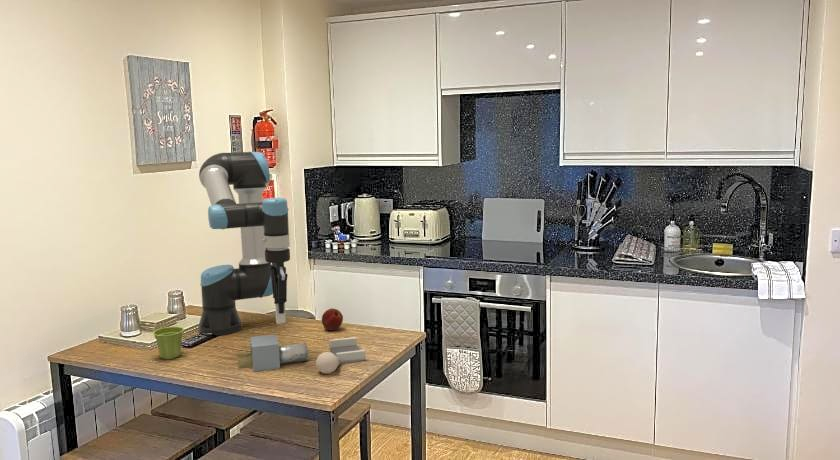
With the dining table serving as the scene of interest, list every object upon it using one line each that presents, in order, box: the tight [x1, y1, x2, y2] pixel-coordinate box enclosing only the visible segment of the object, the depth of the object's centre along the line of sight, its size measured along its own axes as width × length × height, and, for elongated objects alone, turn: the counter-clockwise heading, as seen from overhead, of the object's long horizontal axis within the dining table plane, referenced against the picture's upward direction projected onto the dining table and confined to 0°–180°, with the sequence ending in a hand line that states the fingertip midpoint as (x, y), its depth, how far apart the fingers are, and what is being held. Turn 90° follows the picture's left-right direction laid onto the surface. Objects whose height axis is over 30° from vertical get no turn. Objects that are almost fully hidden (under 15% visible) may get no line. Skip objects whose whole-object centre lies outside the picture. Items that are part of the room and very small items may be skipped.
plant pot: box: [152, 326, 185, 360], centre depth 212 cm, size 9×9×9 cm
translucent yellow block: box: [237, 352, 253, 369], centre depth 204 cm, size 4×8×4 cm, turn 106°
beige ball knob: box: [315, 351, 342, 375], centre depth 199 cm, size 7×7×11 cm
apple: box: [321, 307, 344, 331], centre depth 238 cm, size 7×8×8 cm
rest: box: [328, 336, 366, 364], centre depth 212 cm, size 14×9×3 cm, turn 18°
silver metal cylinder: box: [279, 342, 309, 365], centre depth 206 cm, size 12×6×6 cm, turn 108°
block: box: [249, 334, 281, 372], centre depth 204 cm, size 10×8×8 cm
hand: (280, 322), depth 204 cm, fingers closed
